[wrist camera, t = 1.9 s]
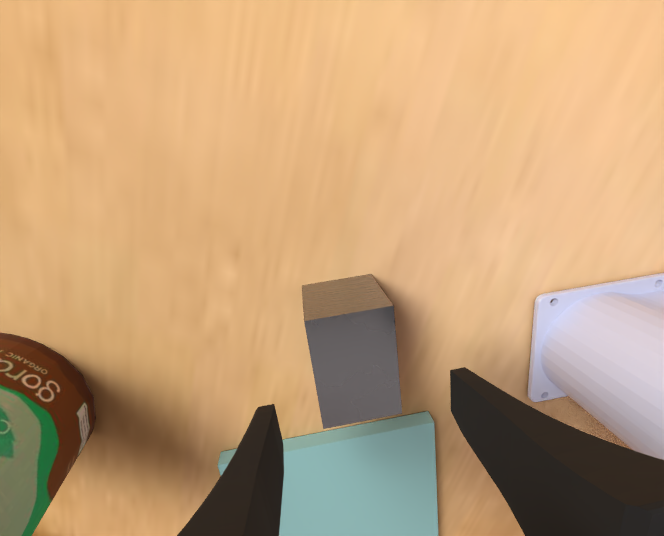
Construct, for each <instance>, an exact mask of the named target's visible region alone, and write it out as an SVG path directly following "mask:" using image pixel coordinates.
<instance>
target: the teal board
mask: <svg viewBox="0 0 664 536" xmlns="http://www.w3.org/2000/svg"><path fill="white" fill-rule="evenodd" d="M282 441H283V449H284V480H283V492H282V505H281V517H280V530H279V536H438V513H437V485H436V457H435V429H434V421H433V419H432V417H431V415H430V414H429V412H428V411H426V412H421V413H416V414H411V415H406V416H401V417H396V418H391V419H386V420H380V421H375V422H370V423H365V424H360V425H355V426H350V427H345V428H340V429H335V430H330V431H324V432H319V433H314V434H309V435H304V436H299V437H294V438H289V439H284V440H282ZM236 450H237V449H233V450H228V451H223V452H221V454H220V458H219V462H218V468H219V471H220V475H222V474H223V472H224V470H225V469H226V467H227V465H228V464H229V462H230V461H231V459H232V457H233V455H234V454H235V452H236Z"/></svg>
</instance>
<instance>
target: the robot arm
mask: <svg viewBox="0 0 664 536" xmlns="http://www.w3.org/2000/svg"><path fill="white" fill-rule="evenodd" d="M552 299H553V301H552V302H551V303H550V301H551V300H552ZM450 381H451V412H452V414H453V416H454V418H455V420H456V422H457V424H458V426H459V428H460V430H461V432H462V434H463V435H464V437H465V438H466V440H467V442H468V443H469V445H470V446H471V448H472V449H473V451H474V452H475V454H476V455H477V457H478V458H479V460H480V461H481V463H482V464H483V466H484V467H485V469H486V470H487V472H488V473H489V475H490V476H491V478H492V479H493V481H494V482H495V484H496V485H497V487H498V488H499V490H500V492H501V493H502V495H503V496H504V498H505V500H506V501H507V503H508V505H509V507H510V509H511V510H512V512H513V514H514V516H515V518H516V519H517V521H518V523H519V525H520V527H521V529H522V530H523V532H524V534H525V536H664V273H659V274H654V275H648V276H642V277H636V278H631V279H625V280H619V281H614V282H608V283H602V284H596V285H591V286H585V287H579V288H574V289H568V290H562V291H556V292H551V293H545V294H541V295H539V296H538V297H537V298H536V300H535V305H534V318H533V331H532V343H531V356H530V369H529V382H528V397H529V399H530V400H531V401H533V402H540V401H545V400H550V399H555V398H560V397H565V396H569V397H570V398H572V399H573V400H574V401H575V402H576V403H577V404H579V405H580V406H581V407H582V408H583V409H585V410H586V411H587V412H588V413H589V414H591V415H592V416H593V417H594V418H595V419H597V420H598V421H599V422H600V423H601V424H603V425H604V426H605V427H606V428H607V429H608V430H610V431H611V432H612V433H613V434H614V435H616V436H617V437H618V438H619V439H620V440H622V441H623V442H624V443H625V444H626V445H628V446H629V447H630V448H631V449H632V450H630V449H627V448H624V447H622V446H619V445H616V444H613V443H610V442H608V441H605V440H602V439H600V438H597V437H595V436H592V435H590V434H587V433H585V432H582V431H580V430H578V429H575V428H573V427H571V426H569V425H566V424H564V423H562V422H560V421H558V420H555V419H553V418H551V417H549V416H547V415H545V414H543V413H541V412H539V411H538V410H536V409H534V408H532V407H530V406H528V405H526V404H524V403H523V402H521V401H519V400H517V399H516V398H514V397H512V396H510V395H509V394H507V393H505V392H504V391H502V390H500V389H499V388H497V387H496V386H494V385H492V384H491V383H489V382H487V381H486V380H484V379H483V378H481V377H479V376H478V375H476V374H475V373H473V372H471V371H470V370H468V369H466V368H459V369H454V370H450ZM283 480H284V449H283V441H282V436H281V432H280V428H279V423H278V419H277V415H276V410H275V406H274V404H272V405H267V406H261V407H258V408H257V410H256V412H255V414H254V416H253V418H252V420H251V423H250V425H249V427H248V429H247V431H246V433H245V435H244V437H243V439H242V441H241V442H240V444H239V446H238V448H237V450H236V452H235V454H234V455H233V457H232V459H231V461H230V462H229V464H228V465H227V467H226V469H225V470H224V472H223V474H222V475H221V477H220V479H219V480H218V482H217V483H216V485H215V486H214V488H213V489H212V491H211V492H210V494H209V495H208V496H207V498H206V499H205V501H204V502H203V503H202V505H201V506H200V507H199V509H198V510H197V511H196V513H195V514H194V515H193V517H192V518H191V519H190V521H189V522H188V523H187V524H186V526H185V527H184V528H183V529H182V531H181V532H180V533H179V534H178V535H177V536H279V530H280V517H281V505H282V492H283Z"/></svg>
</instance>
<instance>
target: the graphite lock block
mask: <svg viewBox="0 0 664 536" xmlns="http://www.w3.org/2000/svg"><path fill="white" fill-rule="evenodd" d="M302 296H303V310H304V322H305V328H306V333H307V339H308V345H309V350H310V356H311V361H312V367H313V373H314V378H315V384H316V389H317V395H318V401H319V406H320V412H321V417H322V423H323V429H326V428H331V427H336V426H341V425H346V424H351V423H356V422H361V421H366V420H371V419H376V418H381V417H387V416H392V415H397V414H402V406H401V394H400V381H399V368H398V356H397V343H396V330H395V318H394V306H393V304H392V303H391V301H390V300H389V299H388V297H387V296H386V294H385V293H384V292H383V290H382V289H381V287H380V286H379V285H378V283H377V282H376V280H375V279H374V278H373V276H372V275H371V274H368V275H362V276H356V277H350V278H344V279H338V280H332V281H326V282H320V283H314V284H308V285H302Z"/></svg>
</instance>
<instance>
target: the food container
mask: <svg viewBox="0 0 664 536" xmlns="http://www.w3.org/2000/svg"><path fill="white" fill-rule="evenodd" d="M95 419H96V415H95V406H94V397H93V395H92V393H91V391H90V389H89V387H88V385H87V383H86V381H85V380H84V378H83V376H82V374H80V373H79V372H78V371H77V370H76V369H75V368H74V367H73V366H72V365H71V364H70V363H69V362H68V361H67V360H66V359H65V358H64V357H63V356H62V355H60V354H58V353H56V352H55V351H53V350H51V349H50V348H48V347H46V346H44V345H43V344H40V343H38V342H35V341H33V340H30V339H28V338H24V337H20V336H16V335H12V334H5V333H0V536H32V534H33V532H34V531H35V529H36V527H37V525H38V524H39V522H40V520H41V519H42V517H43V515H44V513H45V512H46V510H47V508H48V507H49V505H50V503H51V502H52V500H53V498H54V496H55V495H56V493H57V491H58V490H59V488H60V486H61V484H62V483H63V481H64V479H65V478H66V476H67V474H68V473H69V471H70V469H71V467H72V466H73V464H74V462H75V461H76V459H77V457H78V456H79V454H80V452H81V450H82V449H83V447H84V445H85V444H86V442H87V440H88V438H89V437H90V435H91V433H92V430H93V427H94V423H95Z"/></svg>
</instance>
